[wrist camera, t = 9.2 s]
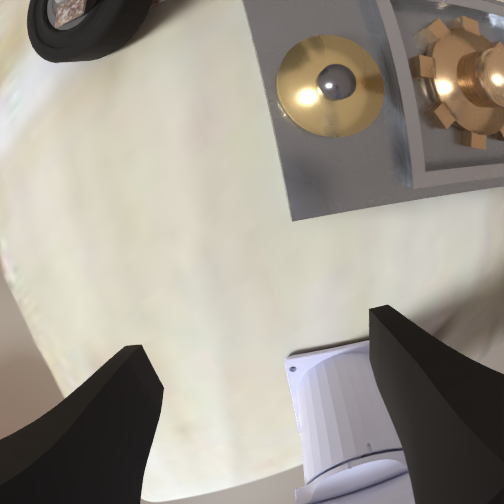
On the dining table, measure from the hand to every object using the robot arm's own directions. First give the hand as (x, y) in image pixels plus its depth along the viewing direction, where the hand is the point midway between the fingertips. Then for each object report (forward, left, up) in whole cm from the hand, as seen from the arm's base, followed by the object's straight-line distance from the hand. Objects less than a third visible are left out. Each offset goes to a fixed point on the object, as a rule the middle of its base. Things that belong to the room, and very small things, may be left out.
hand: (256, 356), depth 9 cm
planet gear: (+8, -14, -8) cm, 18 cm away
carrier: (+8, -11, -9) cm, 17 cm away
